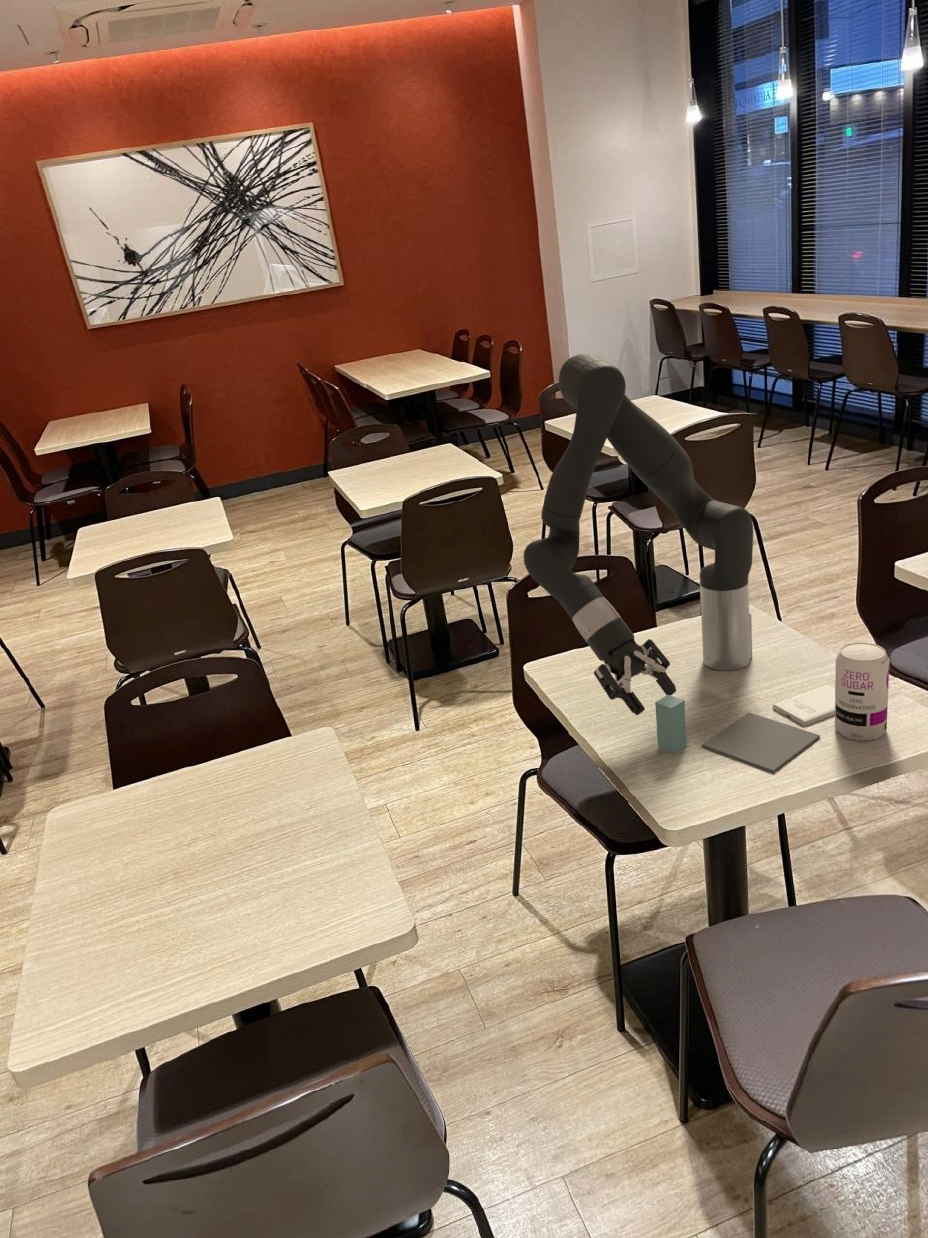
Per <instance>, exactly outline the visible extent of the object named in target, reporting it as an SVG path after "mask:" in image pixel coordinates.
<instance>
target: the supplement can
mask: <svg viewBox="0 0 928 1238" xmlns="http://www.w3.org/2000/svg"><path fill="white" fill-rule="evenodd" d="M834 681H835V683H834V684H835V686H834V688H835V715H834V728H835V730H836V731H837V732H838V733H839V734H840V735H842V736H843V737H845V738H847V739H849V740H853V741H858V742H860V741H861V742H862V741H865V740H866V741H865V742H867V740H868V741H872V739H874V740H876V739H878V738H877V737H879V738H880V737H881V736H883V735H884V734H885V733H886V732H887V728H888V726H887V725H888V709H889V708H888V703H889V681H890V658H889V656H888V654H887V651H886V649H885V648H884V647H882V646H880V645H878V644H875V643H871V642H870V643H869V642H853V643H848V644H844V645H843V646H842V647H841V648H840V650H839V652H838V653H837V654H836V658H835V680H834ZM875 738H876V739H875Z"/></svg>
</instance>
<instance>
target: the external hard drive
mask: <svg viewBox="0 0 928 1238" xmlns="http://www.w3.org/2000/svg"><path fill="white" fill-rule="evenodd" d="M772 709H773V710H775V711H777V712H779V713H780V714H782V715H784V716H787V717H788V718H790V719H791V720H793V721H795V722H796V723H798V724H800V725H802V726H803V727H806V726H808V725H810V724H813V723H816V722H819V721H822V720H825V719H827V718H830V717H833V716H835V686H834V687H833V686H831V685H830V684H825V685H822V686H819V687H816V688H814V689H811V690H809V691H806V692H803V693H801V694H798V695H794V696H793V697H789V698H786V699H784V700H781V701H779V702H776V703H774V704H772Z"/></svg>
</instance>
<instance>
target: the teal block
mask: <svg viewBox="0 0 928 1238" xmlns="http://www.w3.org/2000/svg"><path fill="white" fill-rule="evenodd" d="M685 702H686V701H685V699H682V698H680V697H676V696H673V695H665V696H664V697H661V698H660V699H659V700H657V701H655V705H654V706H655V720H656V722H655V723H656V735H657V736H656V737H657V748H658V749H660V750H663V751H665V752H668V753H670V754H672V755H675V754H677V753H678V752H680V751H682V750H683V749H685V748H686V747H687V746H688V745H687V743H688V741H687V726H686V725H687V723H686V722H687V721H686V704H685Z"/></svg>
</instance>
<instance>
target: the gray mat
mask: <svg viewBox="0 0 928 1238" xmlns="http://www.w3.org/2000/svg"><path fill="white" fill-rule="evenodd" d="M819 739H821V735H820V734H817V733H815V732H812V731H808V730H805V729H802V728H799V727H796V726H792V725H789V724H787V723H783V722H780V721H777V720H775V719H774V720H773V719H771V718H768V717H765V716H763V715H762V716H761V715H758V714H756V713H753V712H751V711H750V712H747V713H745V714H744V715H743V716H741V717H740V718H739V719H737V720H736V721H734V722H732V723H730V725H728V726H727V727H725V728H724V729H722V730H720V731H719V732H718V733H716V734H714V735H713V736H712V737H710V738H708V739H707V740H706V741H704V742H703V743H701V747H702V748H705V749H708V750H710V751H713V752H715V753H718V754H721V755H723V756H726V757H729V758H732V759H734V760H737V761H739V762H743V763H746V764H748V765H751V766H754V767H756V768H759V769H762V770H764V771H767V772H770V773H772V774H775V773H776V771H779V770H780V769H781V768H782V767H783V766H784V765H787V764H788V762H790V761H791V760H793V759H794V758H795V757H797V756H799V754H801V753H802V752H804V750H806V749H807V748H808V747H810V746H811V745H812V744H814V743H815V742H816V741H818V740H819Z"/></svg>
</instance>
